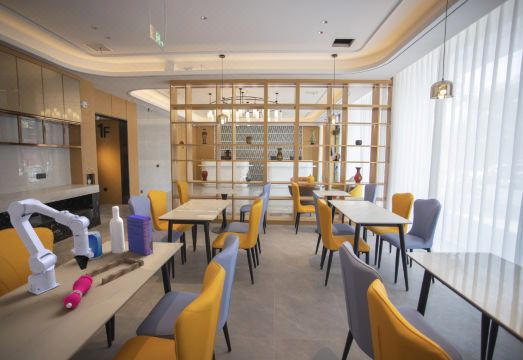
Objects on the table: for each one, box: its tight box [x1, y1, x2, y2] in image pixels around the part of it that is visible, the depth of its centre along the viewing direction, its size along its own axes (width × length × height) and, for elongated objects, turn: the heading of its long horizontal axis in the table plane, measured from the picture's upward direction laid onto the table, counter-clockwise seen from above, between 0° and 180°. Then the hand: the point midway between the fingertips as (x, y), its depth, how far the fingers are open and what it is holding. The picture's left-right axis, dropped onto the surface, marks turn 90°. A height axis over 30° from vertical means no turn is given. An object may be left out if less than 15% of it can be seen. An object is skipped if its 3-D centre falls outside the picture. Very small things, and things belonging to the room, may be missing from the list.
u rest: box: [85, 255, 145, 285], centre depth 140 cm, size 24×15×2 cm, turn 155°
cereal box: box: [126, 214, 154, 257], centre depth 165 cm, size 17×5×24 cm, turn 64°
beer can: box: [88, 230, 103, 261], centre depth 157 cm, size 8×8×16 cm
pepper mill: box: [63, 274, 94, 309], centre depth 113 cm, size 7×7×20 cm
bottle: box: [109, 205, 126, 254], centre depth 166 cm, size 8×8×30 cm
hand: (83, 269), depth 124 cm, fingers closed
